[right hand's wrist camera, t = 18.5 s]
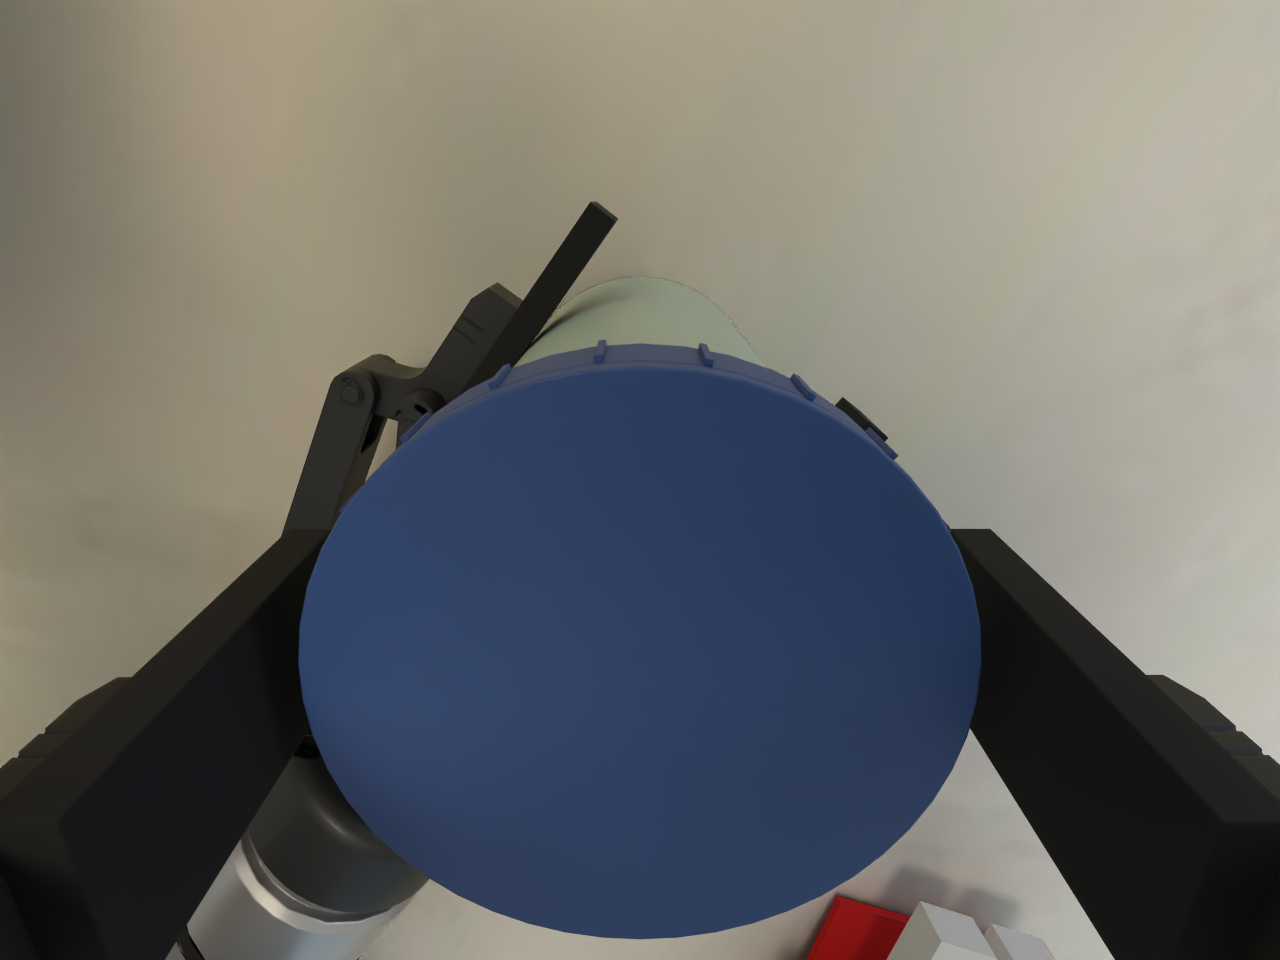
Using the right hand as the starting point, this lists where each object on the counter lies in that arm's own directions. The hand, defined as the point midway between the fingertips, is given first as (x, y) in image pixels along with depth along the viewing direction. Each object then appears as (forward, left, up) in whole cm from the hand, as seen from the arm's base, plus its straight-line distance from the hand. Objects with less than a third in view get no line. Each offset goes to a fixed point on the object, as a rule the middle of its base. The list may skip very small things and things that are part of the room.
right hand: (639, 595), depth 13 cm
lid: (0, 0, +3) cm, 3 cm away
